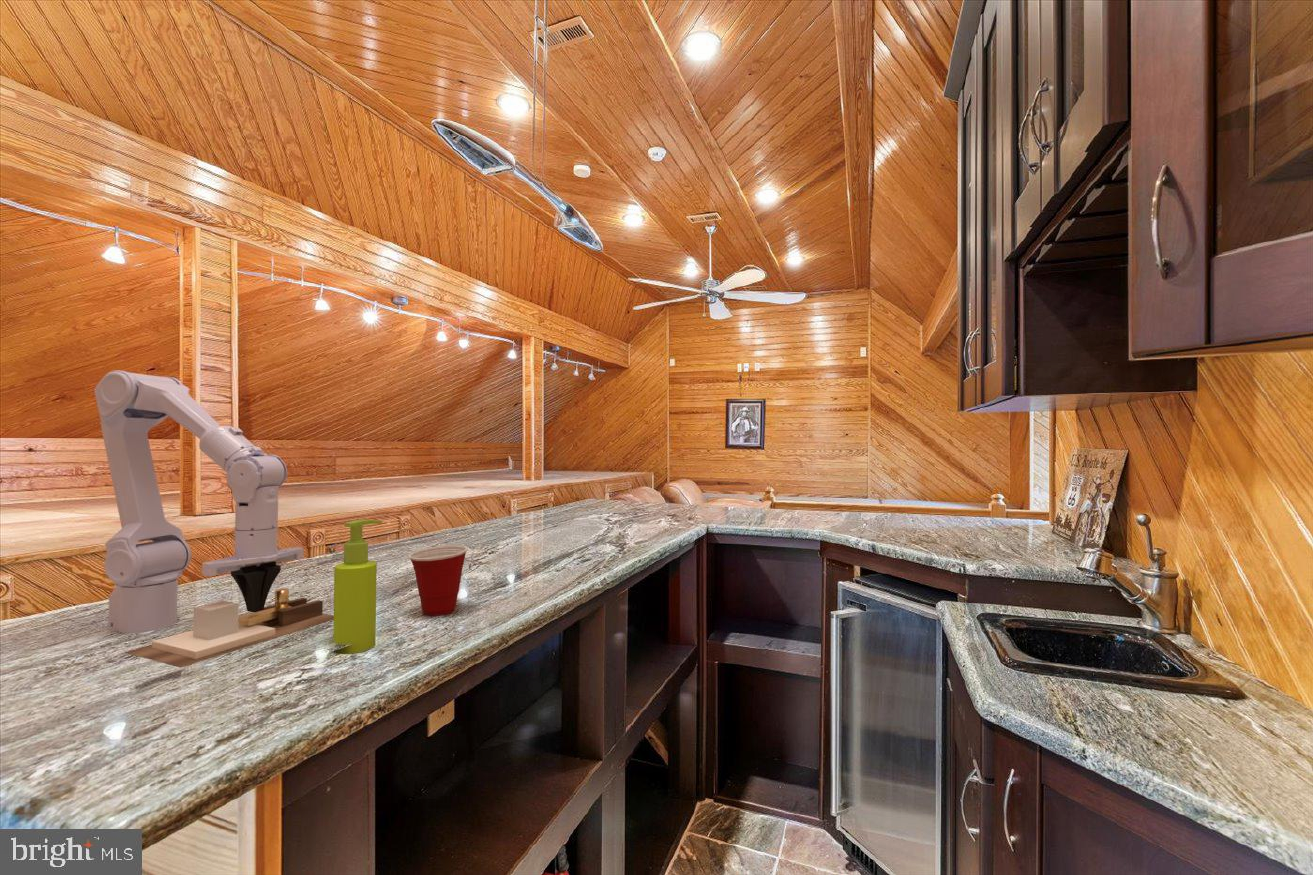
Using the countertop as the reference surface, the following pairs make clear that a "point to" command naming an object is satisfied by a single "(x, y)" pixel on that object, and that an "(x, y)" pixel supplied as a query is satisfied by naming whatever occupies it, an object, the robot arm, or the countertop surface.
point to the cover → (213, 632)
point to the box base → (286, 623)
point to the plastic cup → (438, 577)
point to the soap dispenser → (355, 594)
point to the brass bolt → (271, 613)
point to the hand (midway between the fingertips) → (255, 610)
